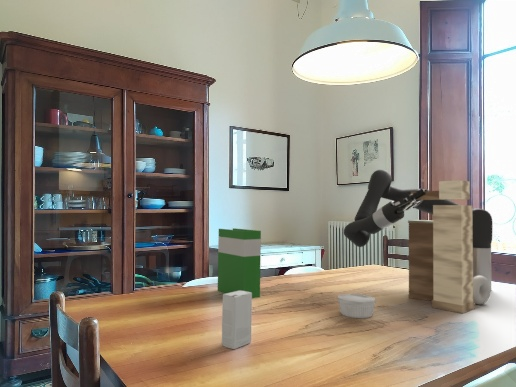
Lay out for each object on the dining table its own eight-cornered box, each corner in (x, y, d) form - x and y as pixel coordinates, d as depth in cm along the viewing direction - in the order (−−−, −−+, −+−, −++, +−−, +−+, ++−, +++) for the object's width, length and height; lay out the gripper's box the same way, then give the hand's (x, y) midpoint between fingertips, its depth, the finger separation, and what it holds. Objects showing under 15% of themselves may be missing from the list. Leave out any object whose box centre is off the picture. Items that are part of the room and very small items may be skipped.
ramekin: (376, 312, 123) (376, 295, 124) (374, 321, 113) (374, 303, 113) (340, 308, 127) (340, 292, 127) (335, 317, 117) (335, 299, 117)
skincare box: (238, 339, 95) (239, 289, 96) (252, 343, 93) (253, 292, 93) (220, 346, 91) (221, 293, 91) (234, 350, 88) (235, 296, 88)
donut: (475, 307, 131) (475, 277, 131) (465, 304, 134) (465, 275, 134) (492, 304, 136) (492, 275, 136) (482, 301, 139) (482, 273, 139)
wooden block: (444, 303, 136) (444, 205, 138) (474, 308, 129) (473, 205, 130) (432, 307, 130) (431, 205, 131) (462, 313, 123) (461, 205, 124)
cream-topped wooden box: (412, 291, 154) (412, 219, 156) (450, 295, 148) (450, 220, 149) (408, 297, 144) (408, 220, 145) (448, 302, 137) (448, 221, 138)
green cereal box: (217, 290, 152) (218, 228, 153) (233, 288, 156) (234, 228, 157) (243, 299, 137) (244, 231, 138) (259, 297, 142) (260, 230, 143)
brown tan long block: (417, 200, 144) (417, 183, 144) (469, 199, 130) (469, 181, 130) (408, 199, 139) (407, 182, 139) (461, 199, 125) (460, 180, 126)
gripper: (373, 206, 145) (411, 181, 135) (393, 206, 155) (430, 183, 144) (382, 224, 142) (422, 200, 131) (402, 223, 152) (440, 200, 141)
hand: (426, 191), depth 138 cm, fingers closed on brown tan long block, 3 cm apart
